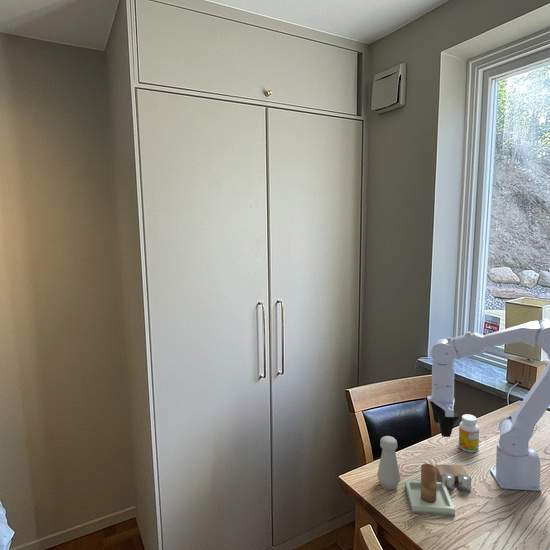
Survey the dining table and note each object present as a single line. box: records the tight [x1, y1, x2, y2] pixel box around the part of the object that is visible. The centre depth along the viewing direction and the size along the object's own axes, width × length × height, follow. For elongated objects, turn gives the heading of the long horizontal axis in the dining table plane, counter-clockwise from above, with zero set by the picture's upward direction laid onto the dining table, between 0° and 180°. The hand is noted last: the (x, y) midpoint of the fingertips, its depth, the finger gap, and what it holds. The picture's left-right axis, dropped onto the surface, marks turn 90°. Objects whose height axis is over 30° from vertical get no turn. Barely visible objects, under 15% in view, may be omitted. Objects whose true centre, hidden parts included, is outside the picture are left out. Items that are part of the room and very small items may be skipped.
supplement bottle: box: [458, 413, 480, 453], centre depth 120 cm, size 5×5×10 cm
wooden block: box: [434, 463, 470, 485], centre depth 107 cm, size 7×5×2 cm
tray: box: [404, 479, 456, 517], centre depth 98 cm, size 10×10×2 cm
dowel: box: [420, 463, 438, 503], centre depth 98 cm, size 4×4×8 cm
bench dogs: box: [442, 473, 472, 493], centre depth 102 cm, size 7×3×3 cm, turn 81°
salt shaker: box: [376, 435, 401, 491], centre depth 104 cm, size 6×6×13 cm
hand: (442, 429), depth 112 cm, fingers open, 7 cm apart
